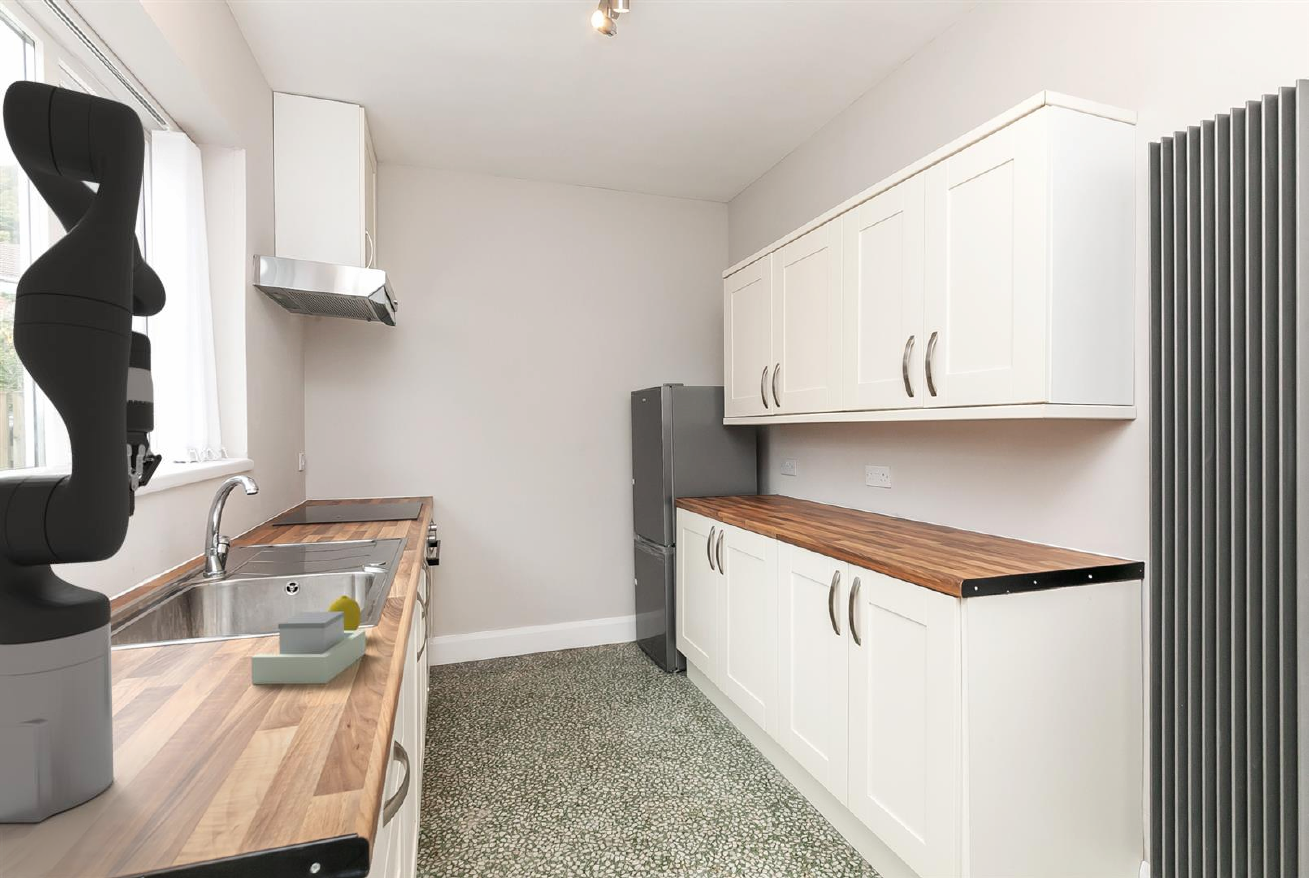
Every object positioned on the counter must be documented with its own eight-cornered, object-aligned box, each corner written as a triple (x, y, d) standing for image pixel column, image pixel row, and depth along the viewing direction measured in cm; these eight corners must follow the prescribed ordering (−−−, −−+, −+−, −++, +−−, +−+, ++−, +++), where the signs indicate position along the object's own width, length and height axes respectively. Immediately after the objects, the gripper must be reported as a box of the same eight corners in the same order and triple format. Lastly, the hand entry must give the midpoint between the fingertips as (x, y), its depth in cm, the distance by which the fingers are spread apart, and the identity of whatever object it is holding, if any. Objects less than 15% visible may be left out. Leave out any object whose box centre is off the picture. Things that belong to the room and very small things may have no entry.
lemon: (351, 644, 110) (351, 599, 110) (321, 644, 110) (320, 599, 110) (366, 634, 116) (366, 591, 116) (337, 634, 116) (337, 591, 116)
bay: (326, 683, 93) (325, 656, 93) (251, 683, 93) (251, 657, 93) (365, 654, 105) (365, 630, 105) (300, 654, 105) (299, 631, 105)
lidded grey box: (325, 675, 96) (324, 623, 96) (278, 675, 96) (278, 623, 96) (344, 660, 102) (344, 611, 102) (301, 660, 102) (300, 612, 102)
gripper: (108, 394, 86) (110, 519, 85) (179, 403, 99) (181, 512, 98) (53, 396, 85) (53, 522, 85) (131, 405, 99) (132, 514, 98)
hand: (122, 517), depth 91 cm, fingers closed
